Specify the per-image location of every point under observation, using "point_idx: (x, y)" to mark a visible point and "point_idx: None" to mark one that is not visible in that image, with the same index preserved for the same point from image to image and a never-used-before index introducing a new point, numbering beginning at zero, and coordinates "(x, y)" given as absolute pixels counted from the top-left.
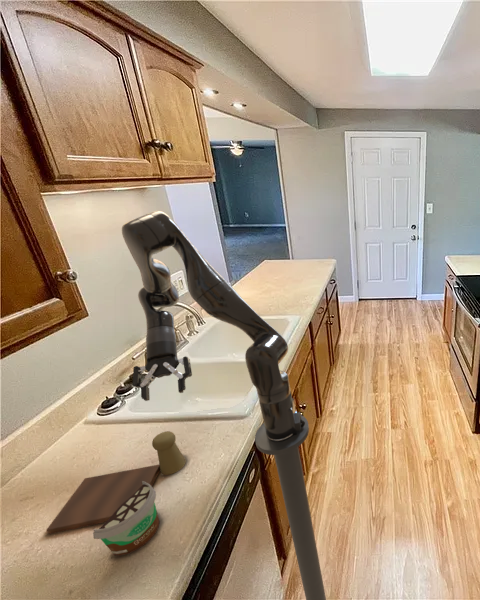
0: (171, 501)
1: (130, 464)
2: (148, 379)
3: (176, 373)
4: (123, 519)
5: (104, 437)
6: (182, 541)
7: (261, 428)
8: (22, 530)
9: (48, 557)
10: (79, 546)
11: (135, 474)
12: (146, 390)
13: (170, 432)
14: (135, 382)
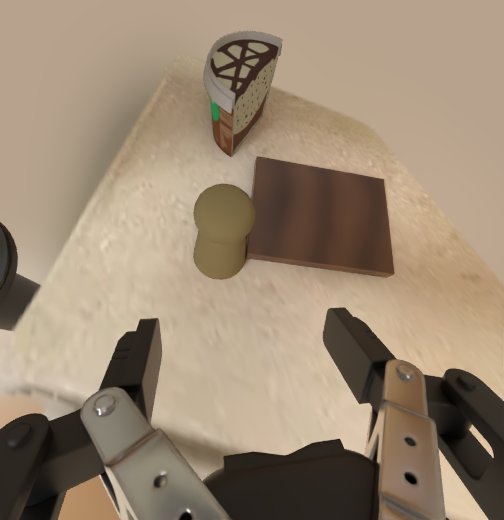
0: (203, 167)
1: (321, 298)
2: (386, 401)
3: (133, 443)
4: (242, 47)
5: None
6: (171, 96)
7: None
8: (423, 208)
9: (352, 149)
10: (319, 148)
11: (291, 242)
12: (355, 344)
13: (204, 215)
14: (477, 396)
